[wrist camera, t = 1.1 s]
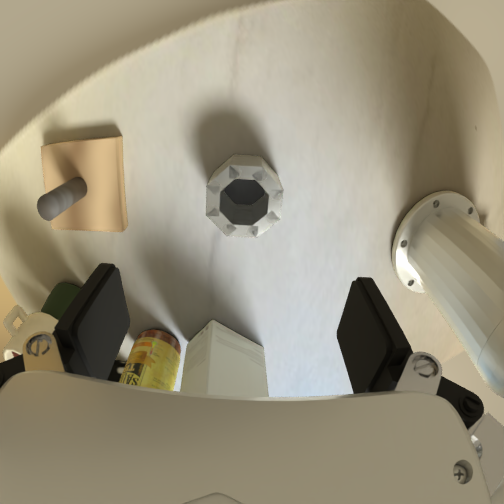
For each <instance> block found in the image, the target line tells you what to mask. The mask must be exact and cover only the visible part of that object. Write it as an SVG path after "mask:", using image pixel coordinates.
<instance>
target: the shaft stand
mask: <svg viewBox="0 0 504 504" xmlns="http://www.w3.org/2000/svg"><path fill="white" fill-rule="evenodd" d="M41 156H42V166H43V175H44V184H45V191H46V194H44V195H43V196H41V197H40V198H39V199H38V202H37V209H38V212H39V214H40V216H41V217H42V218H43V219H45V220H47V221H51V226H52V229H60V230H86V231H110V232H123V231H124V230H125V229H126V228H127V226H128V221H127V211H126V199H125V186H124V170H123V143H122V136H116V137H104V138H93V139H83V140H74V141H66V142H59V143H52V144H47V145H44V146H41Z"/></svg>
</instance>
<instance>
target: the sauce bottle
mask: <svg viewBox="0 0 504 504" xmlns="http://www.w3.org/2000/svg"><path fill="white" fill-rule="evenodd" d="M180 354H181V348H180V344H179V343H178V341H177V340H176V339H175V338H174V337H173V336H171V335H169V334H168V333H166V332H164V331H161V330H147V331H144V332H142V333H141V334H140V335H139V336H138V338H137V340H136V341H135V343H134V344H133V347H132V349H131V352H130V354H129V357H128V360H127V362H126V365H125V367H124V370H123V372H122V375H121V378H120V380H119V383H123V384H129V385H135V386H141V387H147V388H154V389H161V390H169V391H173V389H174V385H175V380H176V376H177V372H178V367H179V363H180Z"/></svg>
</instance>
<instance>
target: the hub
mask: <svg viewBox="0 0 504 504" xmlns="http://www.w3.org/2000/svg"><path fill="white" fill-rule="evenodd" d="M234 179H248V180H256V181H257V182H258V183H259V184H260V185H261V186H262V187H263V189H264V190H265V195H264V196H263V197H261V198H260V199H259V200H258V201H256V202H255V203H254V204H253V205H243V204H235V203H234V202H233V201H232V200H231V199H230V198H229V196H228V195H227V194H226V193H225V187H226V186H227V185H228V184H230V183H231V182H232V181H233V180H234ZM206 187H207V189H206V216H207V217H208V218H209V219H210V220H211V221H212V222H213V223H214V224H215V225H216V226H217V227H218V228H219V229H220V230H221V231H222V232H223V233H224V234H225V235H226V236H234V237H251V238H257V237H259V236H260V235H261V234H262V233H264V232H265V231H266V230H268V229H269V228H270V227H271V226H273V225H274V224H275V223H277V222H278V221H279V220H280V216H281V207H282V198H283V188H282V185H281V182H280V180H279V177H278V175H277V174H276V173H275V172H274V171H273V170H272V168H271V167H270V166H269V165H268V164H267V163H266V162H265V160H264V159H263V158H262V157H261V156H254V155H237V154H233V155H232V156H231V157H230V158H229V159H228V160H227V161H226V162H224V163H223V164H222V165H221V166H220V167H219V168H218V169H217V170H215V171H214V172H213V174H212V176H211V178H210V180H209V182H208V184H207V186H206Z"/></svg>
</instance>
